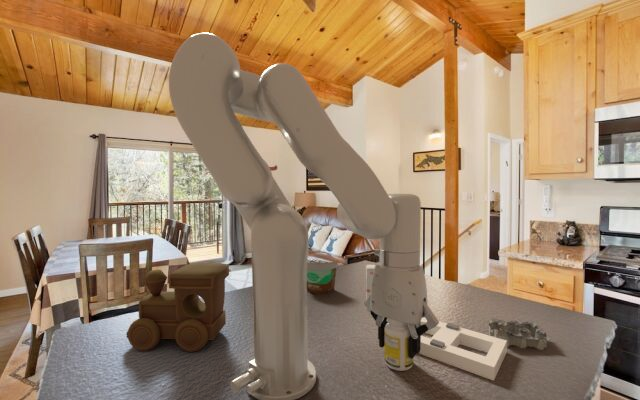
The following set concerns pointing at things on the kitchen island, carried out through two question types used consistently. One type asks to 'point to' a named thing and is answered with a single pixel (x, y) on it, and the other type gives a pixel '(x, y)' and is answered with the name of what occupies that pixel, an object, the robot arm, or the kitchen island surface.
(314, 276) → the food container
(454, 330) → the socket plate
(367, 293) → the ink box
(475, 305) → the kitchen island surface
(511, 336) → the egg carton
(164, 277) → the wooden toy train
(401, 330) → the supplement bottle
